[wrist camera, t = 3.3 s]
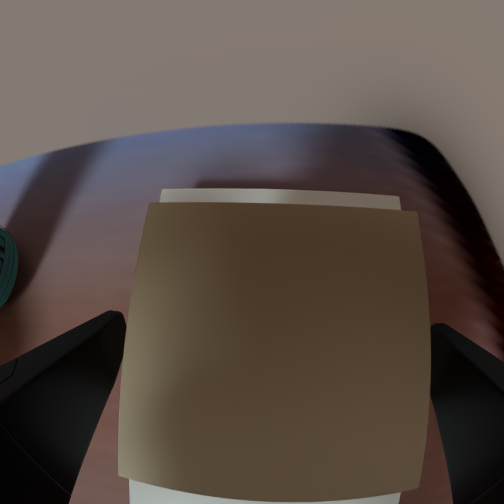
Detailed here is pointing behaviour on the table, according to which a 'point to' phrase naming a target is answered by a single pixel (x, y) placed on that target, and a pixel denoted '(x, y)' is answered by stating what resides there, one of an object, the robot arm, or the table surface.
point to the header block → (166, 500)
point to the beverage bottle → (7, 265)
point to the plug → (277, 352)
